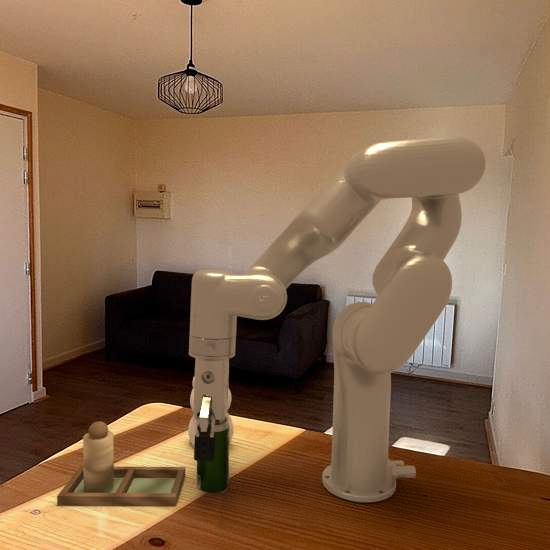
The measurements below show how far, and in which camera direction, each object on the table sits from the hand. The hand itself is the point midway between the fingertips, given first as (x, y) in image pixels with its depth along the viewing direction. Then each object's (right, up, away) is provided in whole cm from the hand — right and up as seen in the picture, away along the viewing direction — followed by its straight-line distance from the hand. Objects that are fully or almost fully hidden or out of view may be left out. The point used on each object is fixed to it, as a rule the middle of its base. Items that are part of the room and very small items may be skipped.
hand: (207, 446), depth 82 cm
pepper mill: (-18, -6, -2) cm, 19 cm away
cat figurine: (-2, -6, +18) cm, 19 cm away
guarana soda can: (+1, -8, +1) cm, 8 cm away
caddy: (-13, -7, -2) cm, 15 cm away
